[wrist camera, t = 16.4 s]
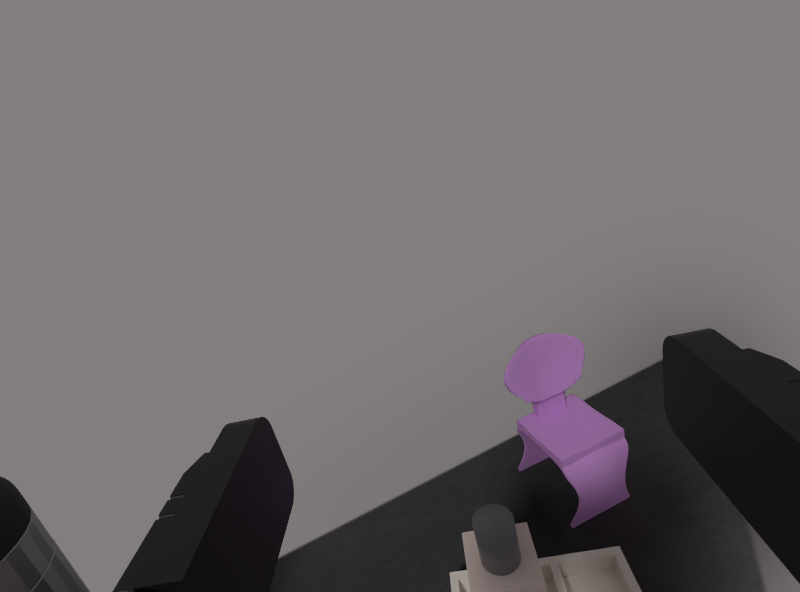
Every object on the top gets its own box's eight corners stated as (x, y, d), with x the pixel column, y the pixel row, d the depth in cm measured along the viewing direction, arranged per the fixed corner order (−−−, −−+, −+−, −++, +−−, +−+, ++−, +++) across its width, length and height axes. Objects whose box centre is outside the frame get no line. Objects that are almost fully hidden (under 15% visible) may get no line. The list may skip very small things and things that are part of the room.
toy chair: (566, 538, 39) (546, 391, 34) (509, 473, 47) (485, 346, 42) (643, 495, 41) (636, 350, 36) (576, 440, 49) (562, 315, 44)
